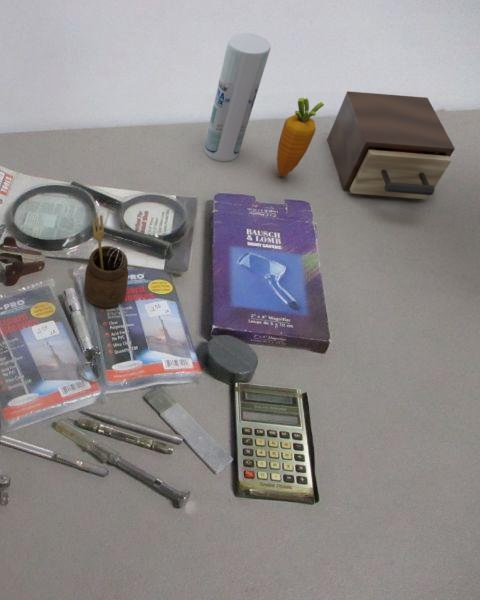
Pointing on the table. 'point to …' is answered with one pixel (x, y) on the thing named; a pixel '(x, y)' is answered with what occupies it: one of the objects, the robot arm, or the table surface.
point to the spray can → (236, 95)
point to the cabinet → (383, 129)
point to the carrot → (296, 137)
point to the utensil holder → (105, 272)
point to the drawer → (399, 173)
